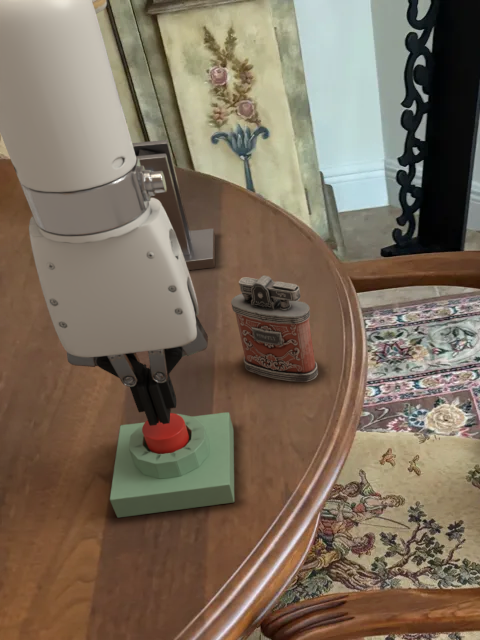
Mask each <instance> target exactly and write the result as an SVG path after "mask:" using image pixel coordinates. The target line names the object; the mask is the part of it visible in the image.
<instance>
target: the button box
mask: <svg viewBox="0 0 480 640" xmlns="http://www.w3.org/2000/svg"><path fill="white" fill-rule="evenodd" d="M176 414H177V415H179V416H181V417H182V418H183V419H184V421H185V425H186V428H187V431H188V435H189V441H188V443H187V445H186V446H185V447H183V448H181V449H179V450H177V451H175V452H173V453H166V454H157V453H153V452H152V451H151V450H149V448H148V446H147V443H146V441H145V438H144V435H143V432H142V428H143V425H144V423H145V422H146V421H144V422H136V423H128V424H121V425H120V426H119V432H118V438H117V447H116V453H115V459H114V460H115V461H114V466H113V473H112V482H111V489H110V495H109V502H110V504H111V506H112V508H113V512H114V513H115V516H116V518H117V519H118V518H127V517H134V516H141V515H148V514H149V515H150V514H157V513H165V512H172V511H179V510H186V509H195V508H202V507H209V506H211V507H212V506H218V505H224V504H233V503H235V441H234V439H235V437H234V434H235V433H234V426H233V422H232V418H231V414H230V412H229V411H228V412H219V413H211V414H202V415H193V416H192V415H191V416H190V415H186V414H182V413H176Z"/></svg>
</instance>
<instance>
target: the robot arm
mask: <svg viewBox="0 0 480 640" xmlns="http://www.w3.org/2000/svg"><path fill="white" fill-rule="evenodd" d="M107 51H108V50H107V48H106V44H105V41H104V37H103V34H102V30H101V27H100V23H99V19H98V15H97V14H96V12H95V9H94V6H93V3H92V0H0V136H1V138H2V142H3V143H4V147H5V149H6V151H7V154H8V156H9V159H10V162H11V164H12V167H13V169H14V171H15V174H16V176H17V179H18V181H19V184H20V187H21V189H22V192H23V195H24V197H25V199H26V202H27V204H28V207H29V209H30V212H31V217H30V219H29V225H28V233H29V240H30V245H31V251H32V256H33V261H34V265H35V268H36V272H37V277H38V280H39V284H40V287H41V292H42V294H43V297H44V301H45V304H46V307H47V311H48V313H49V316H50V320H51V322H52V325H53V328H54V331H55V333H56V335H57V337H58V339H59V342H60V344H61V346H62V347H63V349H64V350H65V352H66V359H67V362H68V363H69V364H70V365H72V366H76V367H88V368H89V367H91V368H96V367H98V368H99V369H101V370H103V371H105V372H106V373H109V374H111V375H112V376H115V377H116V378H118V379H119V380H120V382H121V384H123V386H125V387H128V388H129V389H130V392H131V395H132V398H133V400H134V403H135V406H136V408H137V411H138V412H139V413H144V414H145V418H146V419H147V420H148V422H149V425H150V426H153V425H157V423H159V421H160V423H163V424H168V423H170V413H172V412H171V410H172V409H176V408H177V396H176V392H175V388H174V386H173V383H172V379H171V376H170V373H172V371H173V370H174V368H175V367H176V366H177V365H178V363H179V362H180V361H181V360H182V358H183V357H189V356H191V355H194V354H197V353H200V352H203V351H205V350H207V348H208V346H209V345H208V344H209V335H208V333H207V332H206V330H205V328H204V326H203V325H202V322H201V321H200V319H199V318H198V316H199V313H200V309H199V303H198V298H197V294H196V290H195V287H194V284H193V281H192V278H191V274H190V270H188V268H187V265H186V262H185V259H184V256H183V253H182V250H181V247H180V245H179V242H178V240H177V237H176V234H175V232H174V229H173V227H172V225H171V223H170V220H169V218H168V216H167V214H166V212H165V210H164V208H163V206H162V204H161V202H160V201H159V200H157V199H155V198H151V196H155V195H156V193H164V192H166V191H167V188H166V182H165V178H164V174H163V172H162V171H155V172H151V170H145V168H144V166H141V165H140V161H139V157H136V155H135V152H134V148H133V144H132V143H133V141H132V138H131V134H130V129H129V127H128V122H127V123H126V120H127V118H126V119H125V116H126V115H125V116H124V114H125V111H124V108H123V105H122V102H121V99H120V98H121V97H120V95H119V92H118V88H117V83H116V80H115V77H114V73H113V69H112V65H111V62H110V58H109V55H108V52H107ZM144 352H147V354H148V361H149V367H147V365H146V363H145V364H143V363H142V362H141V361H140V358H139V357H138V354H137V353H144ZM147 420H146V421H147Z"/></svg>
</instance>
